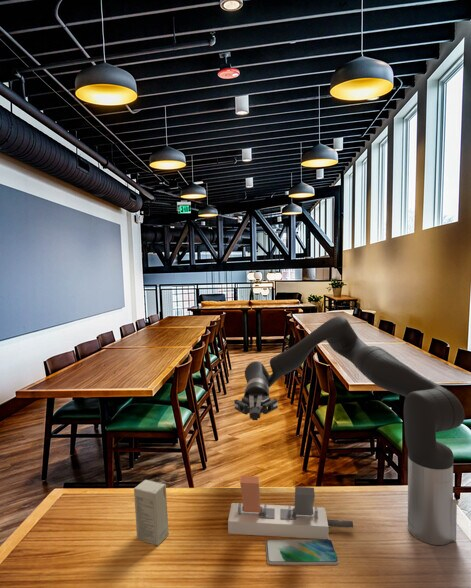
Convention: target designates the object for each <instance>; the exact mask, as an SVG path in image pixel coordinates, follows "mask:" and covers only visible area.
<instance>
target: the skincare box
mask: <svg viewBox="0 0 471 588" xmlns="http://www.w3.org/2000/svg"><path fill="white" fill-rule="evenodd" d="M133 492H134V494H133V495H134V509H135V510H134V511H135V526H136V539H137V540H140V541H142V542H145V543H148V544H152V545H154V546H160V545H161V543H162V542H163V541H164V540H165V539H166V537H168V535H169V520H168V519H169V518H168V515H169V514H168V503H167V501H168V500H167V499H168V498H167V484H166V483H162V482H158V481H153V480H149V479H144V480H143V481H142V482H140V483H139V484H138V485H137V486H135V487H134V488H133Z"/></svg>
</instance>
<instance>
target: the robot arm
mask: <svg viewBox="0 0 471 588" xmlns="http://www.w3.org/2000/svg"><path fill="white" fill-rule="evenodd" d="M324 341H326V342H327V344H328V345H329V346H330V348H331V349H332V350H333V351H334V352H335V353H336V354H338V355H339V356H342V357H343V358H344V359H346V360H348V361H349V362H351V364H353V366H354V367H355V368H356V369H357V370H358V371H359V372H360V373H361V374H362V375H363V376H364V377H365V378H366V379H368V380H369V381H370V382H371V383H373V384H374V385H375V386H377V387H379V388H380V389H383V390H386V391H389V392H390V393H393V394H397V395H398V396H399V395H400V396H403V397H405V398H404V401H403V402H404V403H403V425H404V426H403V427H404V440H405V445H406V447H407V528H408V531H409V533H410V534H411V535H413V537H415V538H416V539H418V540H420V541H421V542H424V543H426V544H430V545H434V546H443V545H444V546H445V545H447V544H449V543H451V542H457V515H458V514H457V510H458V507H457V505H458V503H457V498H456V497H455V496H454V453H453V451H452V449H451V448H450V447H449V446H447V444H445V443H441V441H440V442H439V441H437V435H436V434H437V433H439V432H440V433H441V432H446V431H450V430H454V429H456V428H458V427H460V426H461V425H462V424H463V423H464V421H465V416H466V415H465V411H464V406H463V404H462V403H461V402H460V400H459V398H458V397H457V396H456V395H455V394H454V393H452V391H450V390H448V389H447V388H446V387H443V386H442V385H439V384H437V383H436V382H434V381H432V380H431V379H428V378H426V376H423V375H421V374H419V373H418V372H416V371H415V370H414V369H412V367H409V366H408V365H406V364H405V363H403V362H401V361H400V360H398V359H397V357H395V356H393V355H392V354H391V353H389V352H388V351H387V350H385V349H383V348H382V347H379V346H376V345H367V344H366V343H365V342H364V341H362V339H360V338H359V336H358V335H357V333H356V332H355V331H354V329H353V327H352V326H351V323H349V321H348V320H347V318H345V317H344V316H335V317H333V318H330V319H328V320H326V321H325V322H323V323H322V324H321V325H319V326H318V327H316V329H314V330H313V331H311V332H310V333H309V334H307V335H306V336H305V337H304V338H303V339H301V340H300V341H299V342H297V343H296V344H294V345H293V346H291V347H290V348H288V349H286V350H284V351H282V352H280V353H279V354H277V355H275V356H273V357H271V358H270V360H269V365H270V368H271V372H272V373H271V374H269V372H268V371H267V369H266V367H265V366H264V363H262V362H260V361H252V362H250V363H249V364H248V365H247V366H246V367H245V370H244V377H245V380H246V386H245V388H244V395H243V397H242V398H241V400H239V399H234V401H233V402H234V410H236V411H238V412H239V413H241V414H242V415H245V416H247V415H249V419H250V420H252V421H259V419H261V415H262V414H263V415H267V414H269V413H271V412H273V411H275V410H277V409H278V408H279V407H278V405H279V404H278V398H273V399H271V397H270V388H271V387H272V386H273V385H274V384H275V383H276V382H277V381H278V380H280V379H281V378H282V377H283V376H285V375H287V374H289V373H291V372H293V371H295V370H296V369H297V368H300V366H302V365H303V364H304V363H305V361H306V359H307V358H308V356H309V355H310V353H311V352H312V351H313V350H314V348H315V347H316V346H318V345H320V344H321V343H322V342H324Z"/></svg>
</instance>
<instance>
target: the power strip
mask: <svg viewBox="0 0 471 588" xmlns="http://www.w3.org/2000/svg"><path fill="white" fill-rule="evenodd" d="M242 506H243V503H242V502H237V503H236V502H231V505H230V510H229V515H228V520H227V533H228V535H229V534H233V535H244V536H245V535H249V536H264V537H265V536H267V537H283V538H285V537H286V538H296V539H297V538H298V539H330V538H329V537H330V536H329V535H330V534H329V532H330V531H329V527H331V528H332V527H333V528H336V527H337V528H349V529H351V528H354V521H353V520H347V519H346V520H344V519H343V520H342V519H328V517H327V511H326V508H325V507H322V506H321V507H320V506H313V515H312V516H309V515H295V514H293V508H294V505H289V504H288V505H283V504H282V505H278V504H267V503H264V504H262V503H261V507H263V511H262V512H261V513H255V512H244V511H242Z"/></svg>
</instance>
